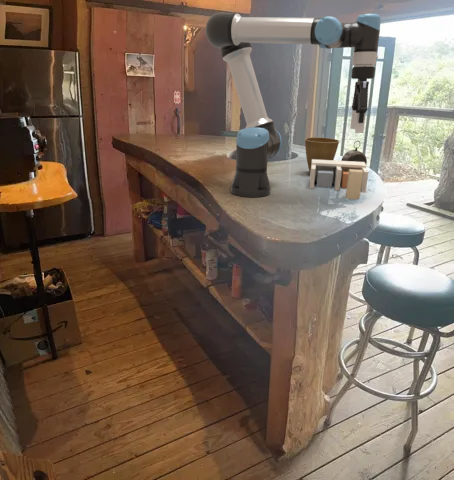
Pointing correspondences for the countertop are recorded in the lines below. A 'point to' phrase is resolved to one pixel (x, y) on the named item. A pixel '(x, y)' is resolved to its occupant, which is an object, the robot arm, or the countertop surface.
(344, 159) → the alarm clock
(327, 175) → the slate block
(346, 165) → the shelf lanes
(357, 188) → the corded block
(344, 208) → the countertop surface
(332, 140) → the plant pot
